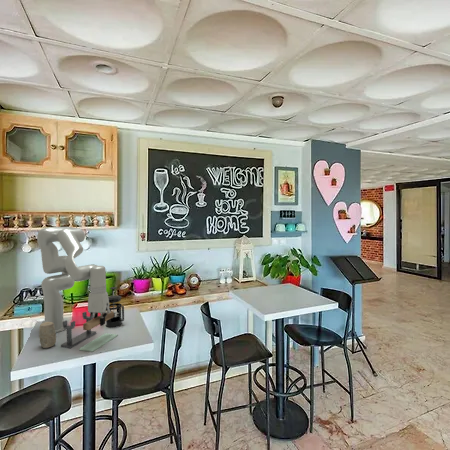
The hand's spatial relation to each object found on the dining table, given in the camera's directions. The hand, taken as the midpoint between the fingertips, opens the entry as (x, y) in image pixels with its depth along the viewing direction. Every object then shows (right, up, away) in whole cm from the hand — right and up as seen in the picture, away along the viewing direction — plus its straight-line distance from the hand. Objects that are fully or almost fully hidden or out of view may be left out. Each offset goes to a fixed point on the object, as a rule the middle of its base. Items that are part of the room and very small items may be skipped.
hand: (99, 324), depth 154 cm
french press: (-1, -9, +25) cm, 27 cm away
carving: (-25, -10, -4) cm, 27 cm away
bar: (0, +1, 0) cm, 1 cm away
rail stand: (-12, -10, +4) cm, 16 cm away
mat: (0, -10, +1) cm, 10 cm away
